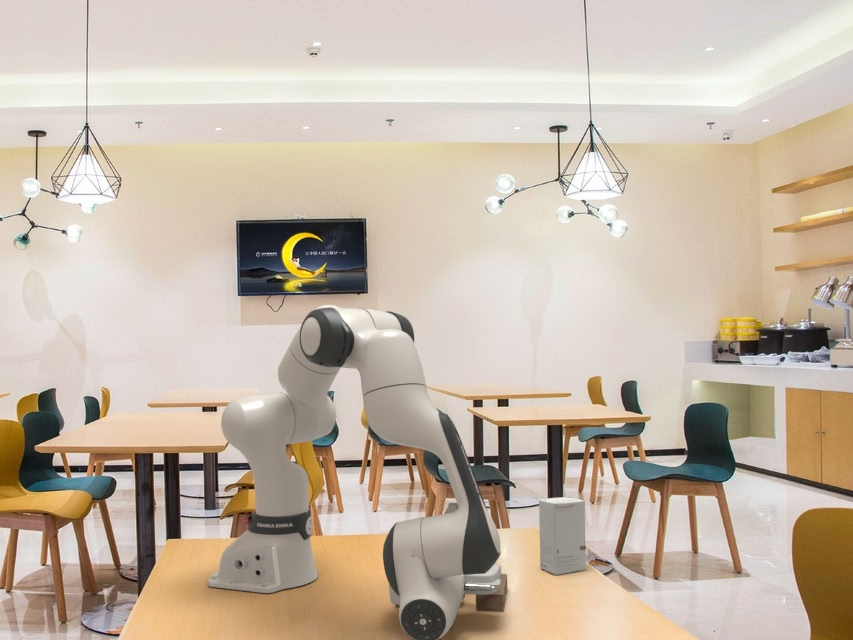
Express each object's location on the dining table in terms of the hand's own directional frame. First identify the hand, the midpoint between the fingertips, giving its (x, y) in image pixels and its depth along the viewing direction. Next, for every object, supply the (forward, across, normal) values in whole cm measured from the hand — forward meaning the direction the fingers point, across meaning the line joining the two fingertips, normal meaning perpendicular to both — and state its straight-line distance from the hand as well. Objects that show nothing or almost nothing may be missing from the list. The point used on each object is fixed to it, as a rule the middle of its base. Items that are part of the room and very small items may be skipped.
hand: (450, 562), depth 142 cm
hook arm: (+2, 0, +7) cm, 8 cm away
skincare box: (+22, -21, +7) cm, 31 cm away
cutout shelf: (+2, 0, +7) cm, 8 cm away
